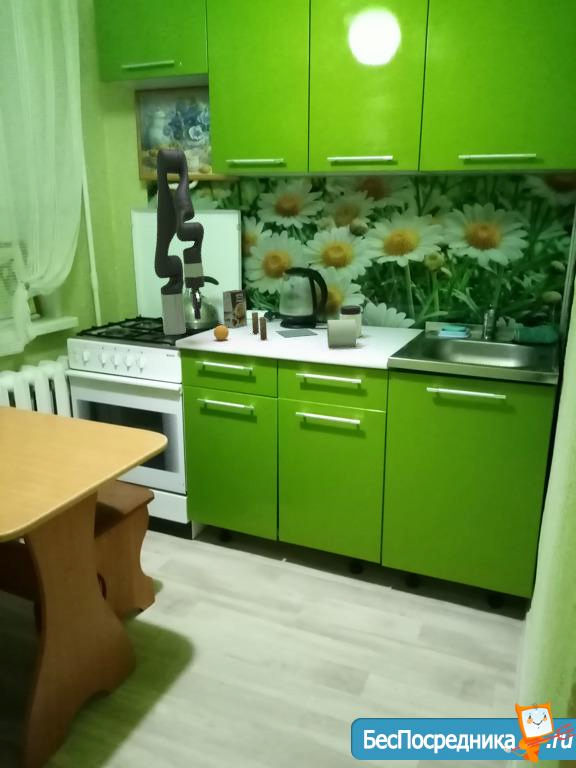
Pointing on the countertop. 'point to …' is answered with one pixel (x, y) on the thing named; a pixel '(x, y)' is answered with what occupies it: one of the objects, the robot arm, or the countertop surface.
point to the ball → (221, 332)
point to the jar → (352, 316)
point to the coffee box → (234, 308)
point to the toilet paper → (341, 333)
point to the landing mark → (296, 333)
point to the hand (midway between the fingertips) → (197, 319)
